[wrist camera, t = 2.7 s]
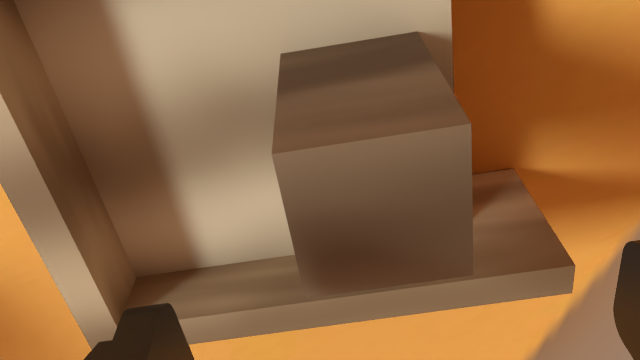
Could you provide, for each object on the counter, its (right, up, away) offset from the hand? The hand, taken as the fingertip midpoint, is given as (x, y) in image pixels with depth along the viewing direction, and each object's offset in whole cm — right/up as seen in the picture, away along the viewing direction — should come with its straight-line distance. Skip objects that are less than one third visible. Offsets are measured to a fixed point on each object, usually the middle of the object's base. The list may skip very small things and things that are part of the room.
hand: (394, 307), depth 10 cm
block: (0, +5, +7) cm, 9 cm away
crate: (-2, +6, +10) cm, 12 cm away
